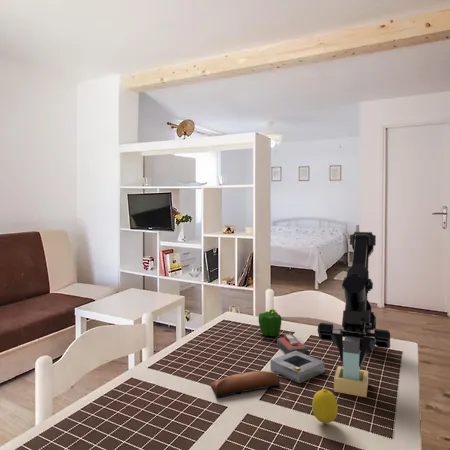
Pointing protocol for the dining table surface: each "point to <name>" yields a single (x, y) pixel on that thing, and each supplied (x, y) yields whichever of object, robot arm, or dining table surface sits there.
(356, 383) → the yellow square socket
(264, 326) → the bell pepper
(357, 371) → the plug
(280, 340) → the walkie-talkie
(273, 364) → the port block
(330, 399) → the lemon
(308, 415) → the dining table surface
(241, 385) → the sunglasses case
